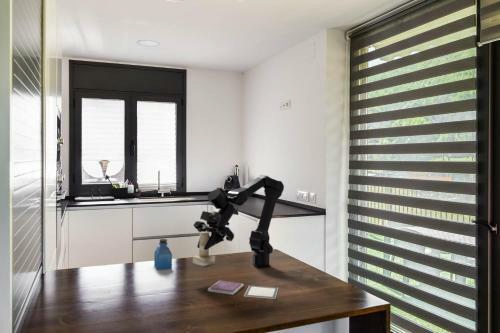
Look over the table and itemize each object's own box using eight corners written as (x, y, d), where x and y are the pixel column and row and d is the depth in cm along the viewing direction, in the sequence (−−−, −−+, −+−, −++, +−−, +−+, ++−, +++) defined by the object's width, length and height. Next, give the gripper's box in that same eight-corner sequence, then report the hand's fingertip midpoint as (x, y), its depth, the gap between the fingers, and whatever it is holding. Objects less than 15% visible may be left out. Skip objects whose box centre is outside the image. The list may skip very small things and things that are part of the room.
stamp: (204, 261, 152) (205, 230, 152) (215, 265, 148) (215, 232, 148) (192, 264, 148) (193, 232, 148) (202, 268, 144) (203, 234, 143)
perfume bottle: (154, 266, 169) (154, 238, 169) (168, 264, 171) (168, 237, 171) (157, 270, 163) (157, 241, 163) (171, 268, 166) (172, 240, 166)
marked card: (249, 285, 146) (249, 285, 146) (278, 288, 144) (278, 287, 144) (243, 296, 135) (243, 295, 135) (275, 298, 133) (275, 298, 133)
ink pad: (219, 282, 149) (219, 279, 149) (243, 286, 145) (243, 282, 145) (207, 291, 139) (207, 287, 139) (233, 295, 136) (233, 291, 136)
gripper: (197, 201, 157) (174, 231, 149) (229, 205, 144) (206, 239, 136) (211, 218, 163) (190, 248, 155) (243, 224, 150) (222, 257, 142)
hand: (201, 248), depth 147 cm, fingers closed on stamp, 4 cm apart
